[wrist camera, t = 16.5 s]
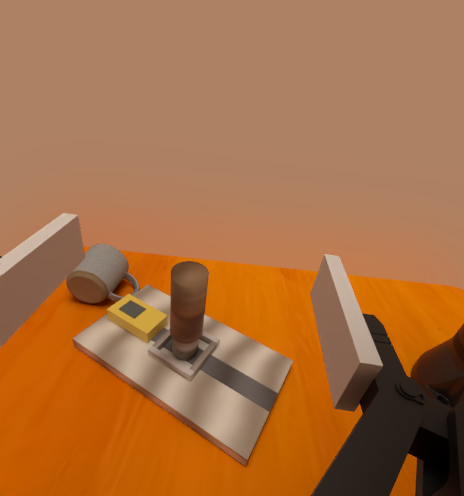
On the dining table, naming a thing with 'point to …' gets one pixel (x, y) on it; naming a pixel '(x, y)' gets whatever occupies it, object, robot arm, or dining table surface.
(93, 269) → the ceramic mug
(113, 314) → the block
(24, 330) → the dining table surface
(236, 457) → the subfloor panel
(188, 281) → the brown tall rounded piece
